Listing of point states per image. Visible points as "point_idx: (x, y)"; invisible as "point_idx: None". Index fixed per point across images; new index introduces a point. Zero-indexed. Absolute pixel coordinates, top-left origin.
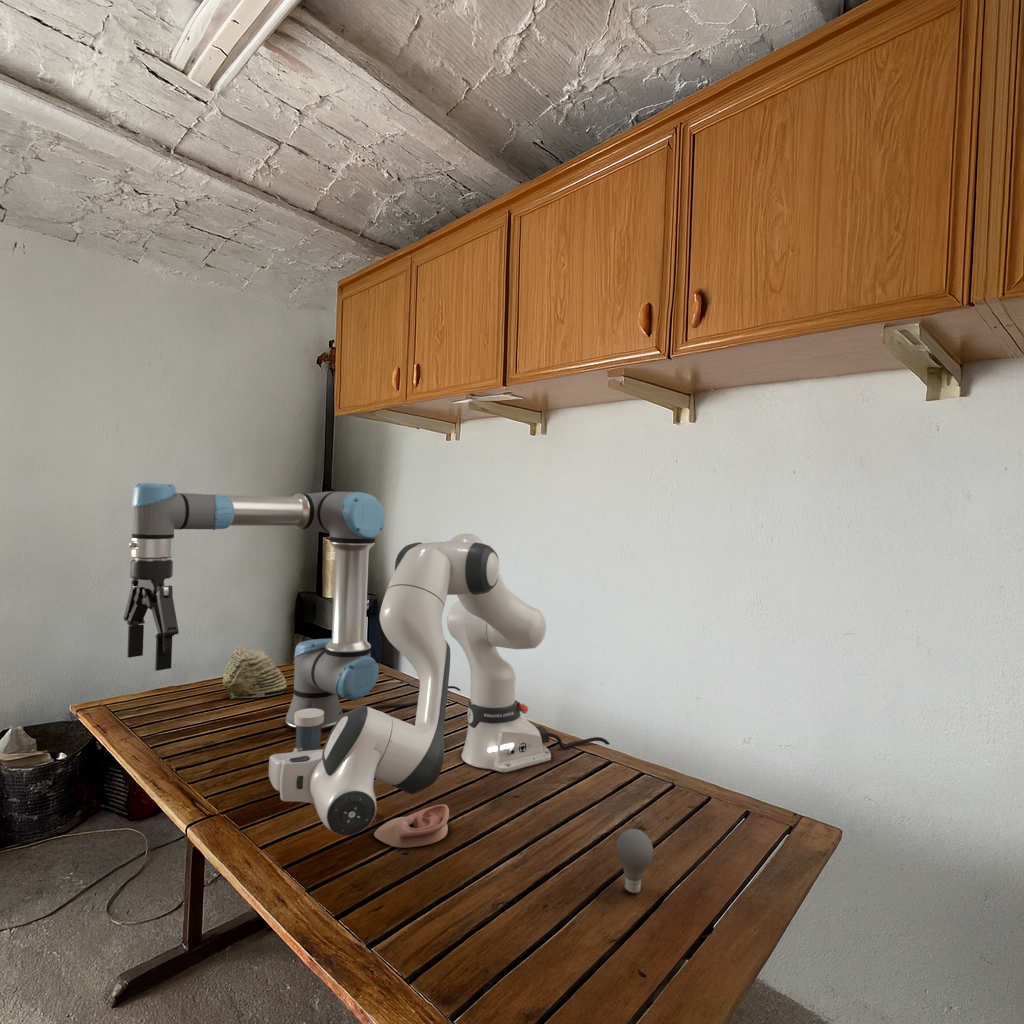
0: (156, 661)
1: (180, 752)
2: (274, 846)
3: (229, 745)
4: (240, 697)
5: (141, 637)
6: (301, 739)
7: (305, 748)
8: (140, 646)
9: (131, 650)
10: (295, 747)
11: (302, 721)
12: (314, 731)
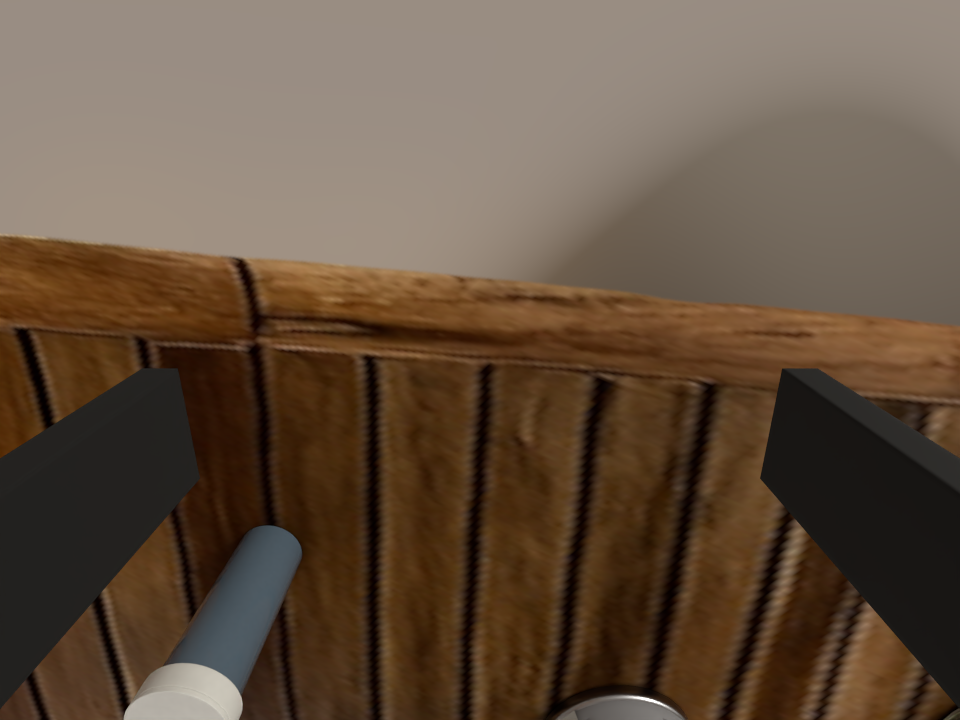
0: (105, 404)
1: (711, 435)
2: (12, 354)
3: (647, 541)
4: (954, 713)
5: (876, 589)
6: (191, 631)
7: (195, 615)
8: (815, 512)
9: (814, 417)
10: (240, 604)
11: (148, 684)
12: None
